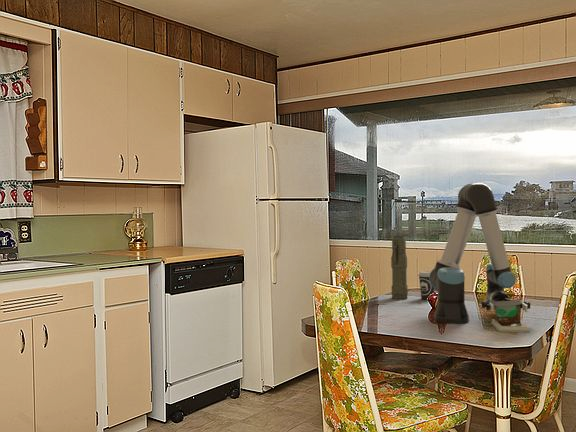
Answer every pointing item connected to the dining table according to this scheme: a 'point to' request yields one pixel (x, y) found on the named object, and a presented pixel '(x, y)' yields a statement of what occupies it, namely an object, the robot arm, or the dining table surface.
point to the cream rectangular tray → (510, 327)
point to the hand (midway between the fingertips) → (509, 308)
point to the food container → (507, 311)
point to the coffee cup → (425, 284)
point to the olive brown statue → (399, 268)
